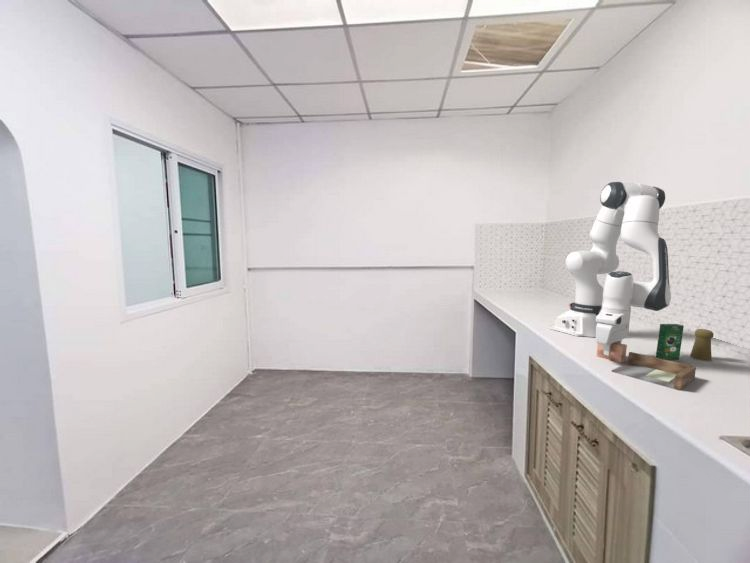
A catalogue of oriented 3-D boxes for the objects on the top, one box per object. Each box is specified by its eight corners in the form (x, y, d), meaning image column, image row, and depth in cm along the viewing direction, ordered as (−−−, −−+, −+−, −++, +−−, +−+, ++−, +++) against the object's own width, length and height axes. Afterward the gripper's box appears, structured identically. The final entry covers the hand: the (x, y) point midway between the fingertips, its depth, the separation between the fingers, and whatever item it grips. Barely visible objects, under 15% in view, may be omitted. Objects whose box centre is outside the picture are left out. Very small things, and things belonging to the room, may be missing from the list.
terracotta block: (596, 356, 133) (598, 341, 132) (600, 354, 135) (602, 339, 134) (620, 362, 126) (622, 346, 126) (625, 360, 129) (627, 344, 128)
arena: (611, 371, 117) (612, 359, 117) (629, 362, 126) (630, 351, 126) (680, 390, 103) (681, 377, 103) (694, 379, 112) (696, 366, 112)
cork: (692, 358, 133) (696, 330, 131) (687, 354, 138) (691, 326, 137) (714, 361, 130) (718, 332, 129) (708, 357, 135) (712, 329, 134)
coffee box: (672, 356, 135) (676, 323, 133) (680, 359, 132) (684, 324, 130) (654, 357, 133) (659, 323, 131) (662, 360, 130) (666, 325, 129)
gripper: (616, 311, 137) (613, 346, 139) (593, 317, 125) (589, 355, 127) (635, 314, 132) (631, 350, 134) (613, 321, 120) (609, 360, 122)
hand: (611, 352), depth 130 cm, fingers open, 6 cm apart
